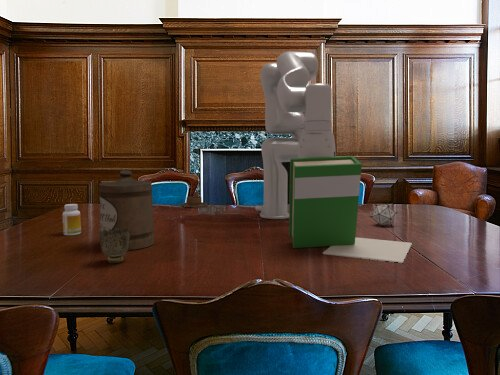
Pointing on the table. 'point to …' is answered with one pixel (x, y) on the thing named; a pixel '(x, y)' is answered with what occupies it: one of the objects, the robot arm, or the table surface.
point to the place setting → (195, 201)
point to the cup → (114, 243)
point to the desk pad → (372, 250)
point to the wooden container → (128, 209)
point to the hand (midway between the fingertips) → (317, 191)
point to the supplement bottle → (71, 220)
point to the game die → (383, 214)
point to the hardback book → (324, 201)
